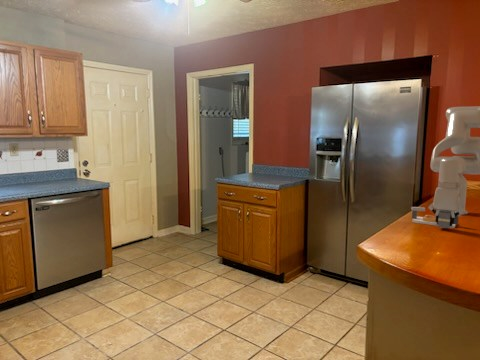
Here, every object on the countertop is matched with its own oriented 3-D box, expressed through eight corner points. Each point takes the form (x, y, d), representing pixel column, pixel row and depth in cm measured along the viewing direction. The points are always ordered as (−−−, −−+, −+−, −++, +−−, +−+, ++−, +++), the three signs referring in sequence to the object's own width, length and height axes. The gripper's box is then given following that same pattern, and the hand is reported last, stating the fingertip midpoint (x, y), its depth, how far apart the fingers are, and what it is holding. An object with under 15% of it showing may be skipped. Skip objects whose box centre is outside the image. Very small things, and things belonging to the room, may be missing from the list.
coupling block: (437, 226, 163) (438, 211, 162) (439, 223, 167) (440, 209, 166) (449, 228, 160) (450, 213, 159) (450, 225, 165) (452, 210, 164)
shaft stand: (408, 221, 177) (409, 208, 177) (412, 218, 185) (413, 205, 184) (458, 228, 165) (459, 214, 164) (460, 224, 173) (461, 210, 172)
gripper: (470, 186, 159) (466, 225, 162) (428, 183, 169) (425, 220, 172) (469, 188, 153) (465, 229, 156) (425, 185, 163) (422, 223, 166)
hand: (444, 224), depth 164 cm, fingers closed on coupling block, 4 cm apart
